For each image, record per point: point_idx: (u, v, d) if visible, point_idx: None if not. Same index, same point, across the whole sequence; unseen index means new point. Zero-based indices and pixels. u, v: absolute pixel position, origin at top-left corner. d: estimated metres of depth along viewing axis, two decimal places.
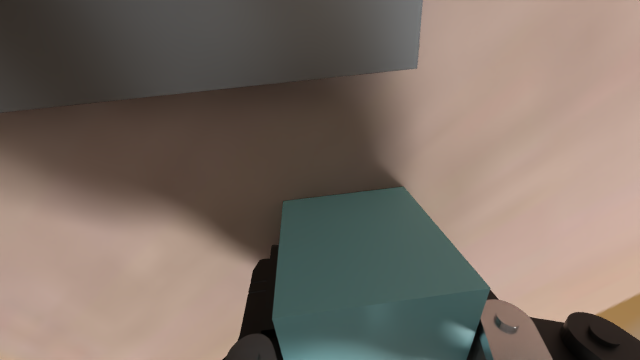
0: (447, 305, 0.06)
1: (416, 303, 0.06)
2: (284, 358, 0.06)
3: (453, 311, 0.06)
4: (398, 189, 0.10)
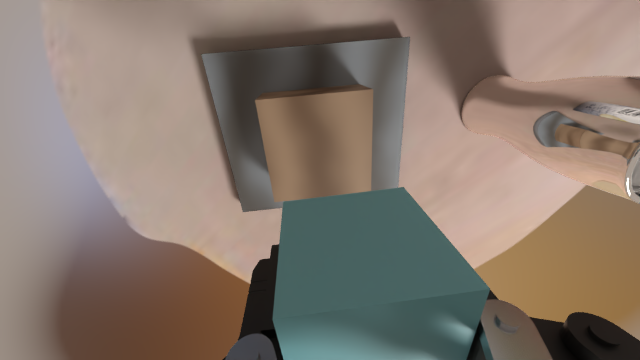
0: (447, 306, 0.06)
1: (416, 304, 0.06)
2: (284, 359, 0.06)
3: (453, 311, 0.06)
4: (398, 189, 0.10)
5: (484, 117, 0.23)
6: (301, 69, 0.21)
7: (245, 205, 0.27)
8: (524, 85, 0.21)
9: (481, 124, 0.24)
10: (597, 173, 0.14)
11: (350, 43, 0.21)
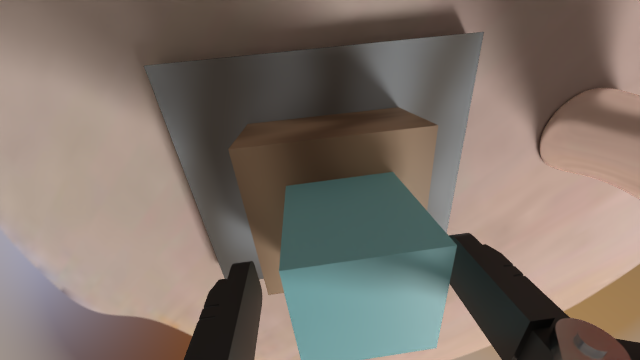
0: (422, 260, 0.07)
1: (396, 258, 0.07)
2: (289, 308, 0.07)
3: (427, 266, 0.07)
4: (387, 173, 0.11)
5: (589, 154, 0.15)
6: (308, 87, 0.13)
7: None
8: None
9: (579, 162, 0.16)
10: None
11: (387, 44, 0.13)
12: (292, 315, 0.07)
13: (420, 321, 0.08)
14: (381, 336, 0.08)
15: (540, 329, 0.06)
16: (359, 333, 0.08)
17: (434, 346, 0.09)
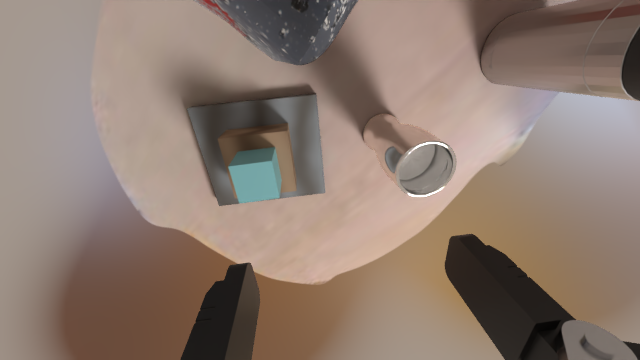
0: (264, 165, 0.28)
1: (257, 164, 0.28)
2: (232, 178, 0.28)
3: (266, 166, 0.28)
4: (272, 147, 0.32)
5: (370, 142, 0.36)
6: (249, 115, 0.34)
7: (220, 201, 0.40)
8: (385, 124, 0.33)
9: (371, 146, 0.37)
10: (393, 180, 0.27)
11: (279, 99, 0.34)
12: (233, 181, 0.28)
13: (270, 186, 0.29)
14: (260, 191, 0.29)
15: (546, 331, 0.06)
16: (253, 189, 0.29)
17: (278, 197, 0.30)
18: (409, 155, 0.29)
